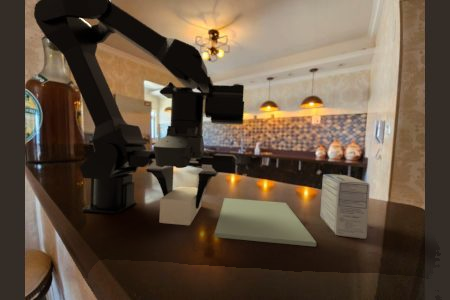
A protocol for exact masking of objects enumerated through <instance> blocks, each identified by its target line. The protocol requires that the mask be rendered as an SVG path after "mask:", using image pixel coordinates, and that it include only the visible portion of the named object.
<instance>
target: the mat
mask: <svg viewBox="0 0 450 300" xmlns="http://www.w3.org/2000/svg"><path fill="white" fill-rule="evenodd" d="M214 238H221V239H231V240H244V241H251V242H252V241H253V242H263V243H273V244H275V243H276V244H284V245H293V246H295V245H296V246H303V247H304V246H306V247H317V241H316V240H315V239H314V237H313V236H312V235H311V233H310V231H308V229H307V228H306V227H305V226H304V224H303V223H302V222H301V220H300V219H299V218H298V217H297V216H296V214H295V213H294V212H293V210H292V209H291V208H290V206H289V205H288V204H287V203H286V202H278V201H266V200H265V201H264V200H255V199H243V198H228V197H224V198H223V203H222V206H221V209H220V213H219V217H218V219H217V223H216V227H215V231H214Z"/></svg>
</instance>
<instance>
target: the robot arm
mask: <svg viewBox="0 0 450 300" xmlns="http://www.w3.org/2000/svg"><path fill="white" fill-rule="evenodd" d="M33 9H34V11H33V16H34V21H35V22H36V25H37V26H38V28H39V29H40V30H41V32H42V33H43V35H44V36H45V38H46V39H47V40H48V41H49V42H50V43H51V44H52V45H53V46H54V47H55V48H56V49H57V50H58V51H59V52H60V53H61V54H62V55H63V57H64V59H65V62H66V63H67V66H68V68H69V70H70V73H71V75H72V77H73V79H74V82H75V84H76V86H77V88H78V90H79V93H80V95H81V97H82V101H83V102H84V104H85V106H86V109H87V111H88V113H89V115H90V118H91V120H92V123H93V125H94V131H93V135H92V139H91V140H92V142H91V143H92V146H93V149H94V152H93V153H92V154H91V155H90V156H89V157H88V158H87V159H86V160H85V161H84V162H83V163H81V164H80V166H79V169H80V173H81V176H82V178H83V179H90V190H89V191H90V193H89V194H90V198H89V205H87V206H84V207H83V208H82V211H83V212H91V213H92V212H93V213H101V214H103V213H104V214H114V215H115V214H118V213H120V212H123V211H124V210H126V209H127V208H129V207H131V206H133V205H134V204H136V203H137V200H136V199H135V182H134V181H133V178H134V177H133V174H132V173H134V174H135V173H137V171H138V169H139V168H146V167H147V166H148V168H146V169H145V171H146V173H150V174H152V175H153V176H154V177H155V179H156V180H157V182H158V184H159V186H160V189H161V192H162V195H163V197H164V196H165V195H167V194H168V193H169V192H171V191H172V190H174V189H173V188H174V167H175V168H176V169H183V168H184V169H185V168H186V167H188V166H191V167H201V169H202V170H201V171H200V172H199V173H198V185H197V188H198V190H197V196H196V208H197V209H198V208H199V206H200V203H201V204H202V200H203V197H204V195H205V192H206V190H207V188H208V185H209V183H210V182H211V179H212V178H213V177H214V178H216V177H217V176H218V175H219V174H220V173H223V174H224V173H226V174H235V173H236V170H237V157H236V156H235V154H231V153H229V154H228V153H226V154H225V153H215V154H213V155H212V156H204V152H205V142H204V137H203V132H204V129H203V127H204V125H203V124H204V123H203V122H204V114H205V117H206V118H207V119H208V118H209V119H210V121H211V124H215V125H216V124H217V125H241V126H243V125H244V112H245V101H244V91H245V86H244V84H232V85H224V84H222V85H219V84H214V82H213V81H212V78H211V77H210V76H208V69H207V66H206V63H205V62H204V60H203V57H202V55H201V53H200V51H199V50H198V48H196V47H195V46H194V45H192V44H189V43H187V42H184V41H181V40H179V39H178V38H169V37H166V36H164V35H161V34H160V33H158V32H157V31H155V30H154V29H153V28H151V27H150V26H148V25H147V24H145V23H143V22H142V21H141V20H138V19H137V18H135V17H134V16H133V15H131V14H130V13H128V12H127V11H125V10H124V9H122V8H121V7H120V6H118V5H116V4H115V3H113V2H112V1H111V0H38V1H37V3H35V6H34V8H33ZM86 19H87V20H98V21H99V22H98V23H97V24H94V25H91V24H90V23H88V22H87V21H86ZM112 34H117V35H119V36H120V37H122V38H123V39H125V41H127V42H129V43H130V44H132V45H133V46H135V47H136V48H138V49H140V50H141V51H142V52H144V53H145V54H147V55H148V56H150V57H151V58H153V59H154V60H155V61H157V62H158V63H160V65H162V66H163V67H164V68H165V69H166V70H167V71H168V72H169V73H170V74H171V75H172V76H173V77H174V78H176V79H177V80H178V82H179V83H181V85H182V86H181V87H180V86H176V85H175V84H174V83H173V82H172V81H170V82H168V83H167V85H165V86H164V87H162V88H161V89H160V90H159V94H160V95H162V96H164V97H166V98H167V99H171V105H170V107H171V109H170V125H168V126H167V129H166V135H165V136H164V137H162V138H160V139H159V140H158V141H157V142H155V143H154V144H153V149H147V148H146V147H147V146H146V145H148V142H147V141H146V140H145V139H144V137H143V134H142V130H141V129H140V127H139V126H138V125H133V124H128V122H126V121H125V119H124V118H123V115H122V113H121V111H120V109H119V106H118V105H117V102H116V99H115V98H114V95H113V93H112V91H111V88H110V85H109V83H108V82H107V79H106V77H105V75H104V72H103V70H102V68H101V66H100V64H99V61H98V59H97V56H96V52H97V50H98V44H102V43H104V42H105V41H106V40H107V39H108V38H109V36H111V35H112ZM183 86H184V87H183ZM194 89H196V90H197V91H193V90H194ZM198 91H199V92H198ZM204 102H205V103H204Z"/></svg>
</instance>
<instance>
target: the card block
mask: <svg viewBox="0 0 450 300" xmlns="http://www.w3.org/2000/svg"><path fill="white" fill-rule="evenodd" d="M197 190H198V187H194V186H193V187H192V186H184V185H183V186H180V185H179V186H177V187H175V188H174V189H173V190H172V191H171V192H169V193H168V194H167V195H165V196H164V195H163V196H162V197H161V198H160V199H159V223H160V224H161V223H162V224H170V225H171V224H172V225H183V226H190V225H191V224H192V222H193V221H194V219H195V217H196V215H197V214H198V212H199V210H200V209H201V207H202V202H201V203H200V206H199V208H198V209H197V208H196V196H197Z"/></svg>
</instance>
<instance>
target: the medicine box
mask: <svg viewBox="0 0 450 300" xmlns="http://www.w3.org/2000/svg"><path fill="white" fill-rule="evenodd" d="M321 181H322V182H321V184H322V185H321V199H320V218H321V220H323V221H324V222H325V224H326V225H327V226H328V227H329V229H330V230H332V232H333V233H334V234H335V235H336V236H340V237H345V238H355V239H361V240H366V239H367V233H368V220H369V219H368V218H369V201H370V183H369V182H366V181H364V180H362V179H358V178H356V177H352V176H349V175H345V174H336V173H335V174H334V173H331V174H330V173H329V174H328V173H327V174H324V173H323V175H322V180H321Z"/></svg>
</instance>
